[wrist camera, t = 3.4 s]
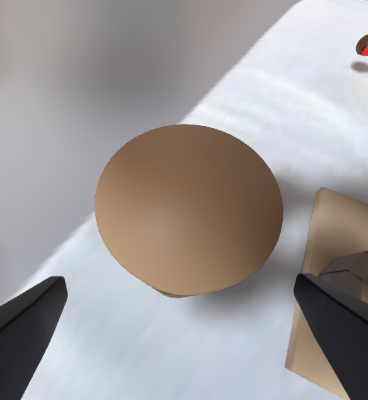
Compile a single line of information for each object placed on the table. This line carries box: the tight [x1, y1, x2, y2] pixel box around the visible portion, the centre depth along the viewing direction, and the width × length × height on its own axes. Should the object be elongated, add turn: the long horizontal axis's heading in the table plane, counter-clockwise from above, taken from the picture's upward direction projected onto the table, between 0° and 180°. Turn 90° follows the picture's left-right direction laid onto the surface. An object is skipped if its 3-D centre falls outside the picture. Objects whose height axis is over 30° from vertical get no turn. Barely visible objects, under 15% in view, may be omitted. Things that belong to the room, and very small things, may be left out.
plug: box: [95, 124, 283, 298], centre depth 11 cm, size 5×5×13 cm
